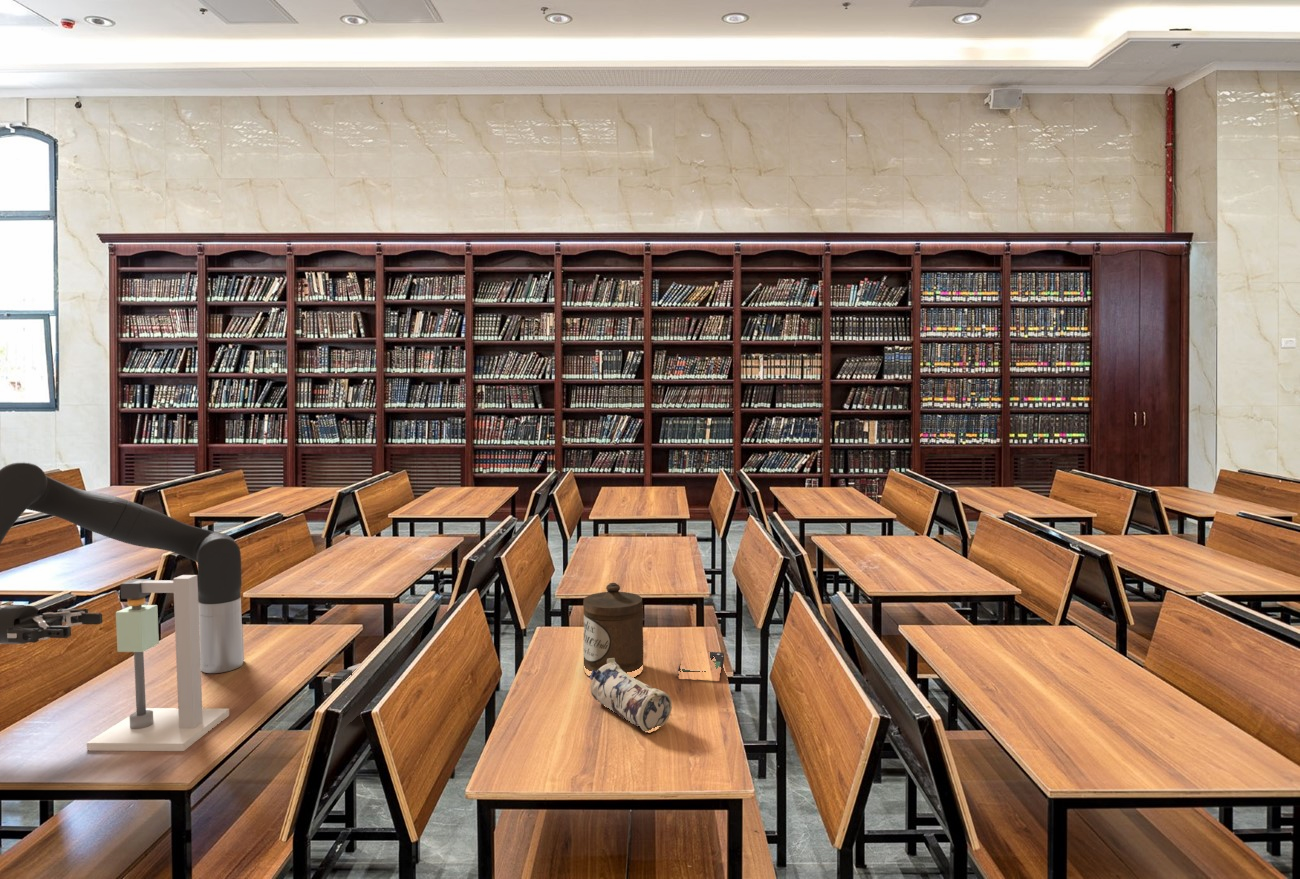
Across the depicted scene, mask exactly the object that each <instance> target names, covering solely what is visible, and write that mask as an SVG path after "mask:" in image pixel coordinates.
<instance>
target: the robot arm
mask: <svg viewBox="0 0 1300 879" xmlns="http://www.w3.org/2000/svg"><path fill="white" fill-rule="evenodd" d="M26 510H29V511H32V512H38V513H42V514H45V515H50V516H53V517H56V518H59V519H62V520H65V521H67V522H69V523H71V524H74V525H76V526H78V527H80V528H83V529H85V530H88V531H91V532H93V533H95V534H99V535H101V536H103V537H106V538H109V539H112V540H114V541H119V542H121V543H124V544H128V545H131V546H132V545H133V546H137V547H140V548H141V547H142V548H147V549H156V550H163V551H167V552H171V553H174V554H177V555H179V556H183V557H185V558H187V559H189V560H192V561H193V562H196V563H197V582H198V609H199V635H200V662H201V672H203V673H207V674H218V673H226V672H230V671H233V670H237V669H238V668H240V667H242V666H243V664H244V660H245V652H244V650H245V648H244V625H243V623H242V622H243V621H242V598H241V597H242V594H241V593H242V592H241V590H242V554H241V549H240V547H239V545H238V543H237V542H236V540H235V539H234V538H233V537H231V536H230V535H228V534H227V533H221V532H218V531H213V530H209V529H204V528H201V527H197V526H193V525H191V524H188V523H185V522H181V521H179V520H177V519H176V518H173V517H171V516H169V515H167V514H164V513H162V512H160V511H158V510H156V509H152V508H151V507H147V506H145V505H142V504H139V503H138V502H134V501H131V500H128V499H125V498H121V497H119V496H118V497H117V496H114V495H111V494H106V493H101V492H97V491H90V490H86V489H85V490H84V489H80V488H79V487H78V488H77V487H75V486H71V485H69V484H66V483H64V482H61V481H59V480H57V479H54V478H52V477H50V476H48V475H46V473H45V471H44V470H43V469H42V468H40V467H39V466H38V465H37V464H34V463H32V462H25V461H17V462H13V463H9V464H6V465H5V466H3V467H2V468H1V469H0V545H1V544H2V542H3V540H4V539H5V537H6V535H7V534H8V532H9V531H10V530H11V529H12V527H13V525H15V523H16V521H17V520H18V519H19V518H20V516H21V515H23V513H24V512H25V511H26ZM102 623H103V614H102V612H89V608H59V609H57V612H53V611H49V612H43V613H42V612H41V611H40V610H39V609H38V608H37V607H36V606H35V605H34V606H33V605H16V604H15V605H9V604H8V605H7V604H6V605H3V604H2V605H0V645H2V644H3V645H4V644H5V645H23V644H24V645H25V644H29V643H34V644H35V643H38V642H39V641H40V640H43V641H44V640H45V641H46V640H48V639H67V638H70V637H71V636H72V627H73V626H81V625H96V626H97V625H100V624H102ZM63 624H64V625H63Z"/></svg>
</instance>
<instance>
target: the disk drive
mask: <svg viewBox="0 0 1300 879" xmlns="http://www.w3.org/2000/svg"><path fill="white" fill-rule="evenodd" d="M709 652H710V658H711V660H712V659H713V658H714V657H715V659H716V661H713V662H714V663H716V664H715V665H716V666H715V667H716V669H717V668H718V666H719V667H721V668H722V669H723V667H724V663H725V652H723V651H722V652H720V651H717V652H716V651H709ZM713 656H714V657H713ZM680 670H681V669H680V665H679V666H678V670H677V672H678V671H680ZM682 671H683V672H700V671H690V670H685V669H682ZM680 672H681V671H680ZM702 672H703V671H702ZM704 672H706V671H704Z"/></svg>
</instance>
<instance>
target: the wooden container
mask: <svg viewBox="0 0 1300 879" xmlns="http://www.w3.org/2000/svg"><path fill="white" fill-rule="evenodd" d="M605 587H606V588H605V589H606V591H602V592H595V593H592V594H590V595H586V596H585V597H584V598H583V603H582V604H583V607H582V609H583V638H582V642H583V643H582V644H583V648H582V649H583V650H582V651H583V652H582V653H583V667H584V666H585V668H586V669H588V670H589V671H592V670H595V671H596V672H597V671H598V669H599V668H601V667H602V666H604V665H606V664H607V659H609V658H615V662H616V664H618V665H619V666H620V667H621V668H622V670H623V671H624V672H625V673H627V672H632V671H635V670H637V669H639V668H640V667H641V666H642V665H643V666H644V627H643V626H644V622H643V618H644V617H643V598H642V597H641V596H640V595H638V594H636V593H632V592H625V591H620V590H621V586H620V585H619V584H617V583H616V582H610V583H609V584H607V585H606V586H605Z"/></svg>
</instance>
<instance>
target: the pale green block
mask: <svg viewBox="0 0 1300 879" xmlns="http://www.w3.org/2000/svg"><path fill="white" fill-rule="evenodd" d="M158 612H159V611H158V605H157V604H143V605H142V609H140V610H132V606H127V607H125V608H122V609H120V610H117V611H115V627H116V647H117V648H116V649H117V653H134V652H145V651H147V650H149V649H152V648H153V647H155V646H157V645H159V644H160V640H159V639H160V638H159V617H158V616H159V615H158Z"/></svg>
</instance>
